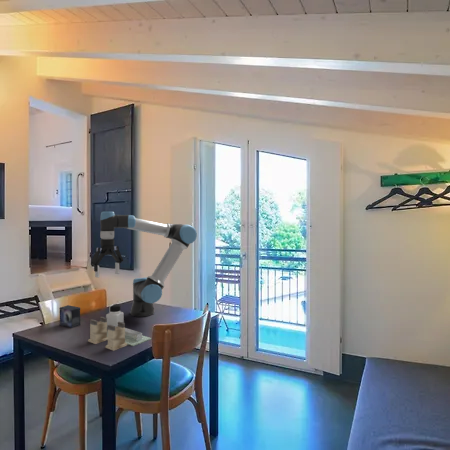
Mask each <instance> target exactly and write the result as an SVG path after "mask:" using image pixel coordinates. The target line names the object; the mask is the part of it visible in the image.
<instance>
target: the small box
mask: <svg viewBox="0 0 450 450" xmlns="http://www.w3.org/2000/svg"><path fill="white" fill-rule="evenodd" d="M58 308H59V309H58V310H59V326H61V327H66V328H70V329H74V328H77V327H80V326H81V307H79V306H75V305H71V304H70V305H69V304H68V305H63V306H62V307H58Z"/></svg>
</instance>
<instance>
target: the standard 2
mask: <svg viewBox="0 0 450 450" xmlns="http://www.w3.org/2000/svg"><path fill="white" fill-rule="evenodd" d="M125 328H126V323H125V322H124V323H123V322H118V326H117V327H115V326H113V325H108V327H107V332H108V340H107V344H106V345H105V349H108V350H111V351H113V352H114V351H117V350H119V349H122V348H124V347H127V346H128V345H127V343H125Z"/></svg>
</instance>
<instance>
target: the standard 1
mask: <svg viewBox="0 0 450 450" xmlns="http://www.w3.org/2000/svg"><path fill="white" fill-rule="evenodd" d="M89 323H90V324H89V327H90V328H89V339H88V340H87V342H89V343H91V344H94V345H96V344H100V343H103V342H106V341H108V337H107V332H108V327H107V318H106V316H105V317H104V316H100V317H99V321H98V320H95V319H92V318H91V319H90V320H89Z"/></svg>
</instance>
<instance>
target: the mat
mask: <svg viewBox="0 0 450 450" xmlns="http://www.w3.org/2000/svg"><path fill="white" fill-rule="evenodd" d="M107 337H108V331H107ZM150 340H152V337H149V336H146V335H143V334H142V340H140V341H138V342H136V341H133V340H130V339H127V338H125V343H127V346H130V347H131V346H132V347H134V346H137V345H140V344H143V343H145V342H148V341H150Z"/></svg>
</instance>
